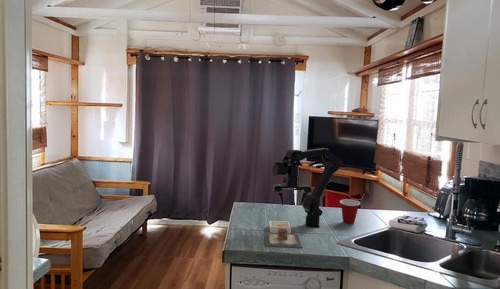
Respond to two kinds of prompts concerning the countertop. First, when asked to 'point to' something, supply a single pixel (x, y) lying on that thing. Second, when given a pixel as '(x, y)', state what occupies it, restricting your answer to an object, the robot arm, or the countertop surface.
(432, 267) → the countertop surface
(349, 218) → the plastic cup
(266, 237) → the mat
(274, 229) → the dish
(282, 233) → the lid
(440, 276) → the countertop surface
